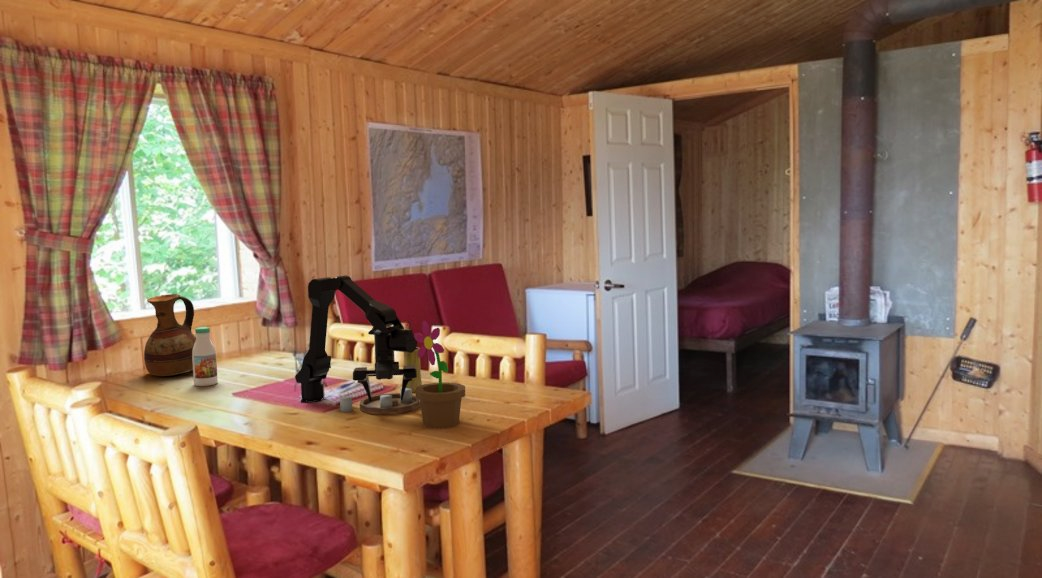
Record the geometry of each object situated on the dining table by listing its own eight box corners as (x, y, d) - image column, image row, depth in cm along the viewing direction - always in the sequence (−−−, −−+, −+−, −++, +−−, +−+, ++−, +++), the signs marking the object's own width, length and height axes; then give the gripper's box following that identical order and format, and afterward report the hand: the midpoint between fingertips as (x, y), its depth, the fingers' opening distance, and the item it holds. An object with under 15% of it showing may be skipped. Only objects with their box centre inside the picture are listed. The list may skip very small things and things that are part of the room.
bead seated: (400, 404, 238) (400, 391, 237) (400, 401, 241) (400, 388, 241) (412, 403, 238) (411, 390, 238) (412, 400, 242) (411, 388, 241)
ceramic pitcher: (134, 376, 284) (128, 295, 281) (183, 365, 301) (178, 289, 298) (166, 382, 274) (161, 298, 270) (215, 370, 291) (210, 292, 287)
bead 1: (339, 412, 232) (339, 399, 231) (341, 409, 235) (340, 396, 235) (352, 411, 232) (351, 398, 232) (353, 408, 236) (352, 395, 235)
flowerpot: (405, 424, 218) (402, 319, 215) (443, 413, 229) (440, 313, 225) (439, 434, 209) (436, 324, 205) (477, 422, 219) (474, 318, 216)
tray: (357, 416, 227) (357, 410, 227) (361, 400, 245) (361, 394, 245) (420, 413, 229) (420, 407, 229) (419, 397, 248) (419, 392, 247)
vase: (418, 393, 253) (417, 350, 252) (401, 392, 255) (399, 349, 253) (424, 388, 259) (423, 346, 258) (407, 387, 261) (406, 346, 259)
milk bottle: (189, 385, 268) (185, 329, 265) (205, 380, 275) (202, 325, 273) (206, 387, 265) (202, 330, 263) (222, 382, 272) (219, 326, 270)
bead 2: (380, 411, 230) (379, 397, 230) (380, 407, 234) (380, 395, 233) (392, 410, 230) (391, 397, 230) (392, 407, 234) (392, 394, 234)
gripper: (350, 356, 221) (352, 409, 223) (416, 353, 223) (417, 406, 225) (353, 349, 232) (355, 399, 233) (415, 346, 234) (417, 396, 236)
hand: (386, 400), depth 232 cm, fingers open, 9 cm apart
